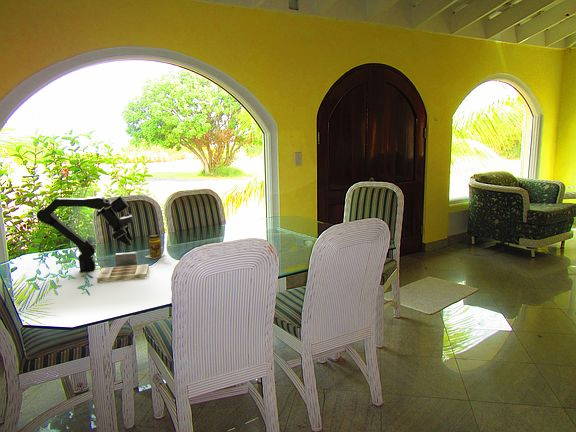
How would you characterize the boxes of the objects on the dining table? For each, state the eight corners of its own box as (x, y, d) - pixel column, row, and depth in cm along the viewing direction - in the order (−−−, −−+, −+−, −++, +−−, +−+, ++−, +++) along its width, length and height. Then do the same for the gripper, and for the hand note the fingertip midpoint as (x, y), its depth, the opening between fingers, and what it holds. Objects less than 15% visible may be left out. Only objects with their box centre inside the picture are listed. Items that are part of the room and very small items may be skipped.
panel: (116, 268, 234) (115, 254, 233) (117, 266, 237) (116, 253, 235) (137, 266, 236) (136, 253, 235) (137, 264, 239) (136, 251, 237)
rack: (97, 282, 214) (97, 277, 214) (102, 271, 228) (102, 267, 228) (146, 277, 219) (146, 273, 218) (148, 267, 233) (148, 263, 233)
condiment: (155, 259, 248) (153, 237, 245) (144, 257, 252) (142, 235, 249) (165, 255, 254) (163, 234, 251) (154, 253, 258) (152, 232, 255)
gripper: (123, 213, 221) (143, 238, 226) (127, 205, 239) (145, 229, 244) (103, 226, 220) (124, 251, 225) (109, 217, 238) (127, 241, 243)
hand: (131, 242), depth 234 cm, fingers open, 9 cm apart
